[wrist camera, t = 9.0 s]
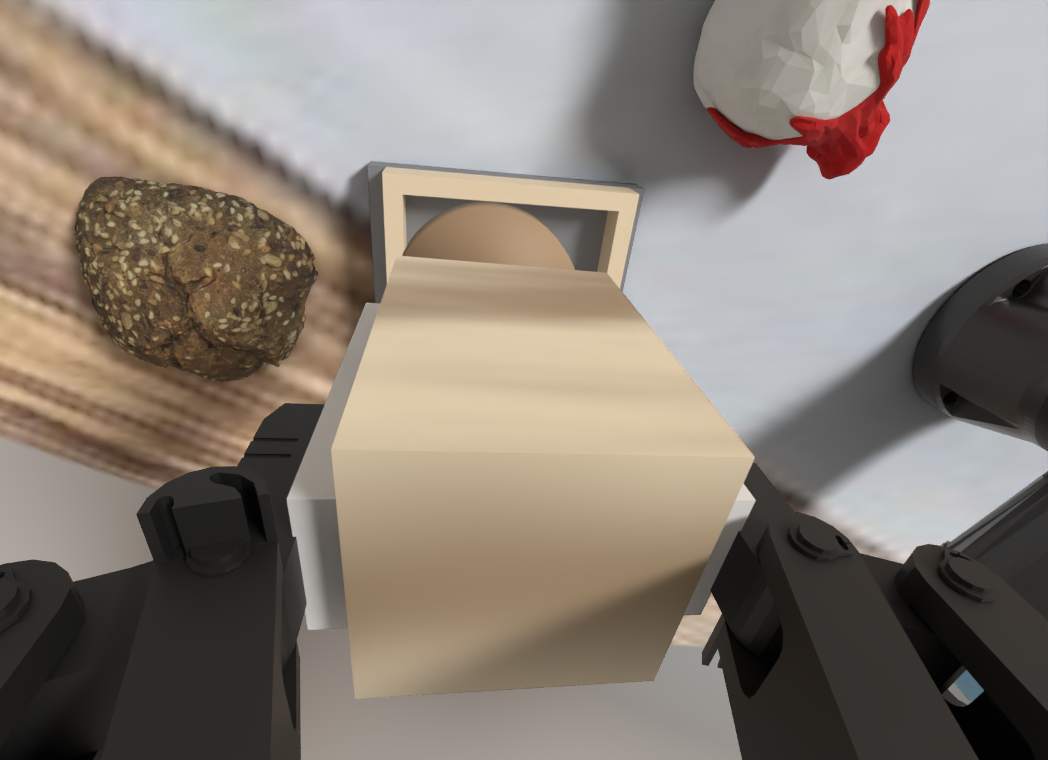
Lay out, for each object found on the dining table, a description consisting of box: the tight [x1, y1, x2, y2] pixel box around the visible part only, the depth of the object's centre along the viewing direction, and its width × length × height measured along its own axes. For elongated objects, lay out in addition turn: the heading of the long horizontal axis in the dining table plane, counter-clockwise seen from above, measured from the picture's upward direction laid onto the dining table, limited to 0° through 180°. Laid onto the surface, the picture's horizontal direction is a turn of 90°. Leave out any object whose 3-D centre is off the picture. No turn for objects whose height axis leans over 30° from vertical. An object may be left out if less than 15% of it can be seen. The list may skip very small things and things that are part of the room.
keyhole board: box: [367, 161, 644, 304], centre depth 35 cm, size 28×16×5 cm, turn 174°
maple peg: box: [331, 202, 755, 699], centre depth 12 cm, size 6×6×12 cm
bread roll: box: [74, 177, 318, 381], centre depth 29 cm, size 13×12×5 cm
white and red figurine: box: [693, 0, 932, 179], centre depth 24 cm, size 9×11×15 cm
